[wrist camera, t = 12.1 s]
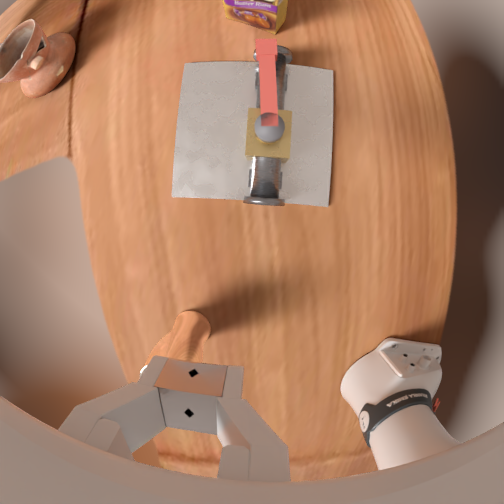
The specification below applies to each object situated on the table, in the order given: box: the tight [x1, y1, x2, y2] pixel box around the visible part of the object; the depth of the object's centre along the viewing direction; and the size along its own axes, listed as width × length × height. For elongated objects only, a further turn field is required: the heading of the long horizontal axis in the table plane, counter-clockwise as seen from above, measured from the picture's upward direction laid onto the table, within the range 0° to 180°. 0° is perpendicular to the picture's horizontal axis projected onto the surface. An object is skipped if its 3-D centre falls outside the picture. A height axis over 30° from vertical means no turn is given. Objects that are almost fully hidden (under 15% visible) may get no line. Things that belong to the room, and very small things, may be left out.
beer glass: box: [140, 311, 211, 377], centre depth 35 cm, size 7×7×15 cm
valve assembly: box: [172, 45, 333, 207], centre depth 31 cm, size 22×21×8 cm
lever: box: [255, 39, 285, 143], centre depth 26 cm, size 13×3×2 cm, turn 1°
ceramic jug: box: [0, 19, 75, 98], centre depth 25 cm, size 18×14×14 cm
